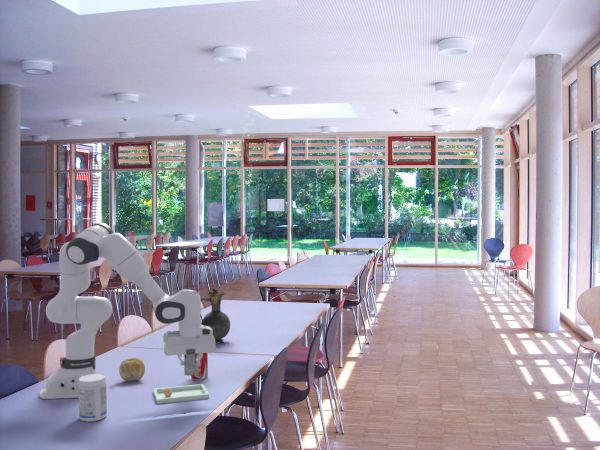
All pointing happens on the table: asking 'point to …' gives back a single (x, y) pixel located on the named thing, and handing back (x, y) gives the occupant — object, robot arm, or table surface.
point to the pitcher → (216, 317)
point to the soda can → (201, 368)
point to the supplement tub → (92, 397)
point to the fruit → (132, 369)
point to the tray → (181, 393)
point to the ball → (168, 392)
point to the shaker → (190, 362)
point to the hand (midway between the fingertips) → (190, 364)
